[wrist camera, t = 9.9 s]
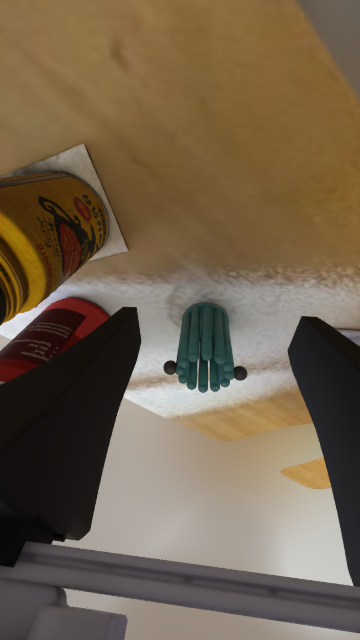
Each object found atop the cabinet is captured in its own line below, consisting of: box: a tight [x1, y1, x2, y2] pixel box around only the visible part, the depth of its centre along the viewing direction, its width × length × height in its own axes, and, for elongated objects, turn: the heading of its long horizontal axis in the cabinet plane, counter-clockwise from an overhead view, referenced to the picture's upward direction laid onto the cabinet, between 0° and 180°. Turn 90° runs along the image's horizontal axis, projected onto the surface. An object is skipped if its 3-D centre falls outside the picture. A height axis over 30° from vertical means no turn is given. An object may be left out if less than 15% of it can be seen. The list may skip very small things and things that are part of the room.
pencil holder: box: [164, 303, 247, 393], centre depth 19 cm, size 7×6×5 cm
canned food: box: [0, 298, 110, 385], centre depth 20 cm, size 8×8×11 cm
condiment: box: [0, 143, 128, 326], centre depth 13 cm, size 7×8×12 cm
